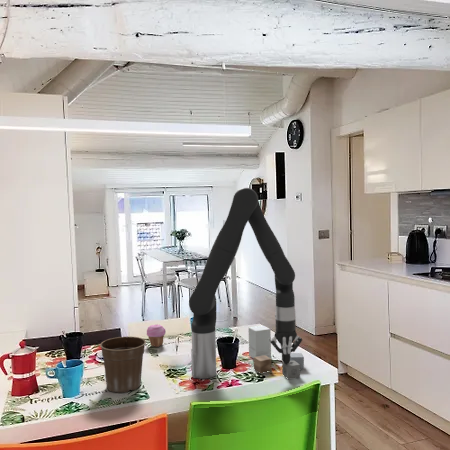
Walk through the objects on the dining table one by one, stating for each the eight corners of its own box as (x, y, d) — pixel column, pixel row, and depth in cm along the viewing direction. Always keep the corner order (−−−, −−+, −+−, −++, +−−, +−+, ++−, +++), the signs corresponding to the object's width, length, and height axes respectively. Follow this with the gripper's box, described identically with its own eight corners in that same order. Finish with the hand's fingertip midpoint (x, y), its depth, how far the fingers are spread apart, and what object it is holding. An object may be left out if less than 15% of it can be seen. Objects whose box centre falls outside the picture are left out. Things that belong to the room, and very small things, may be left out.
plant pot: (150, 377, 168) (149, 335, 168) (142, 395, 152) (141, 349, 152) (108, 378, 168) (106, 336, 168) (95, 396, 152) (94, 350, 152)
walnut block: (260, 373, 170) (260, 361, 170) (254, 369, 174) (253, 357, 174) (271, 371, 172) (271, 358, 172) (264, 367, 177) (264, 355, 176)
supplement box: (271, 358, 186) (271, 329, 186) (255, 361, 184) (255, 331, 183) (263, 353, 193) (263, 324, 193) (248, 355, 191) (247, 326, 190)
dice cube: (294, 373, 170) (294, 360, 170) (300, 377, 165) (299, 364, 165) (282, 374, 168) (282, 361, 168) (287, 379, 164) (287, 366, 163)
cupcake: (160, 349, 201) (159, 327, 201) (143, 347, 204) (143, 326, 204) (168, 343, 210) (168, 322, 209) (152, 342, 213) (151, 321, 212)
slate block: (291, 369, 173) (291, 357, 173) (289, 365, 178) (289, 353, 178) (303, 369, 173) (303, 357, 173) (301, 365, 178) (301, 352, 178)
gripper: (271, 321, 161) (272, 368, 161) (305, 318, 163) (306, 364, 164) (265, 316, 168) (266, 361, 169) (298, 314, 171) (299, 358, 171)
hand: (286, 362), depth 166 cm, fingers closed
